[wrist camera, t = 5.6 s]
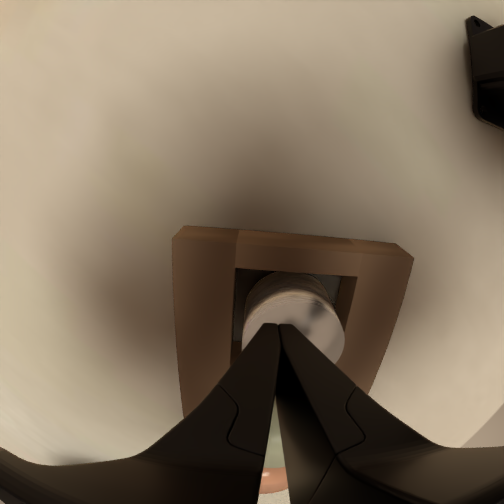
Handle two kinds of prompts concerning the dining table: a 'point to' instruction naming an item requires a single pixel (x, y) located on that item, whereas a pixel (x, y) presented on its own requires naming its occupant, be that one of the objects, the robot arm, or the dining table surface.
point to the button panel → (287, 260)
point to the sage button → (274, 443)
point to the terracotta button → (273, 480)
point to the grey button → (295, 310)
